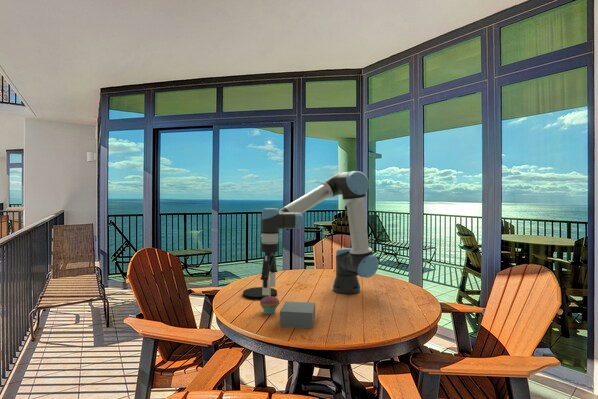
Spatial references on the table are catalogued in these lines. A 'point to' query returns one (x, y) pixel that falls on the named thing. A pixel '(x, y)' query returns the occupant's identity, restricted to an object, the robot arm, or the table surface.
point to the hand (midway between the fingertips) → (269, 290)
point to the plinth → (297, 314)
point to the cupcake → (269, 303)
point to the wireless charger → (257, 293)
